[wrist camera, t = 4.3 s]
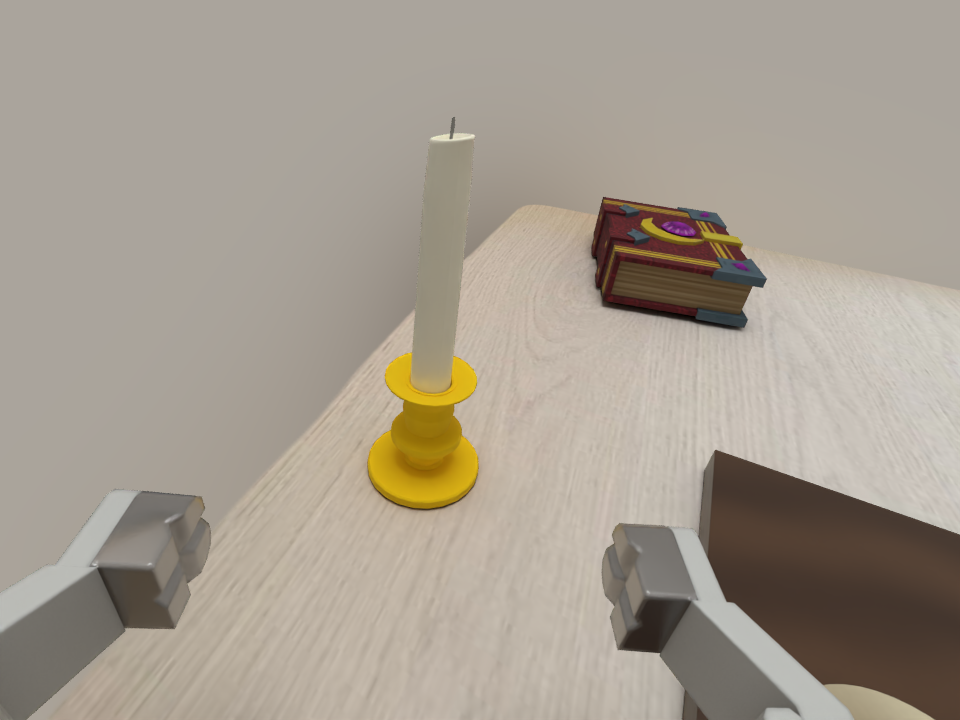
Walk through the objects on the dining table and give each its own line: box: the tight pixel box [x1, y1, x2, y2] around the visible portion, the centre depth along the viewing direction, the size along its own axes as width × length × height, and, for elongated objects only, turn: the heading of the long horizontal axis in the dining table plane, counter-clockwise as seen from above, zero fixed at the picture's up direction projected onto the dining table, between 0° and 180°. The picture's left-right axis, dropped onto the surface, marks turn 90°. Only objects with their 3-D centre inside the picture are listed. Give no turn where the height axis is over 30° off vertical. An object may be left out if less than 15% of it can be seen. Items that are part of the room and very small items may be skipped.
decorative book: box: [592, 197, 767, 328], centre depth 47 cm, size 11×16×5 cm
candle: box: [368, 117, 479, 509], centre depth 21 cm, size 5×5×16 cm
